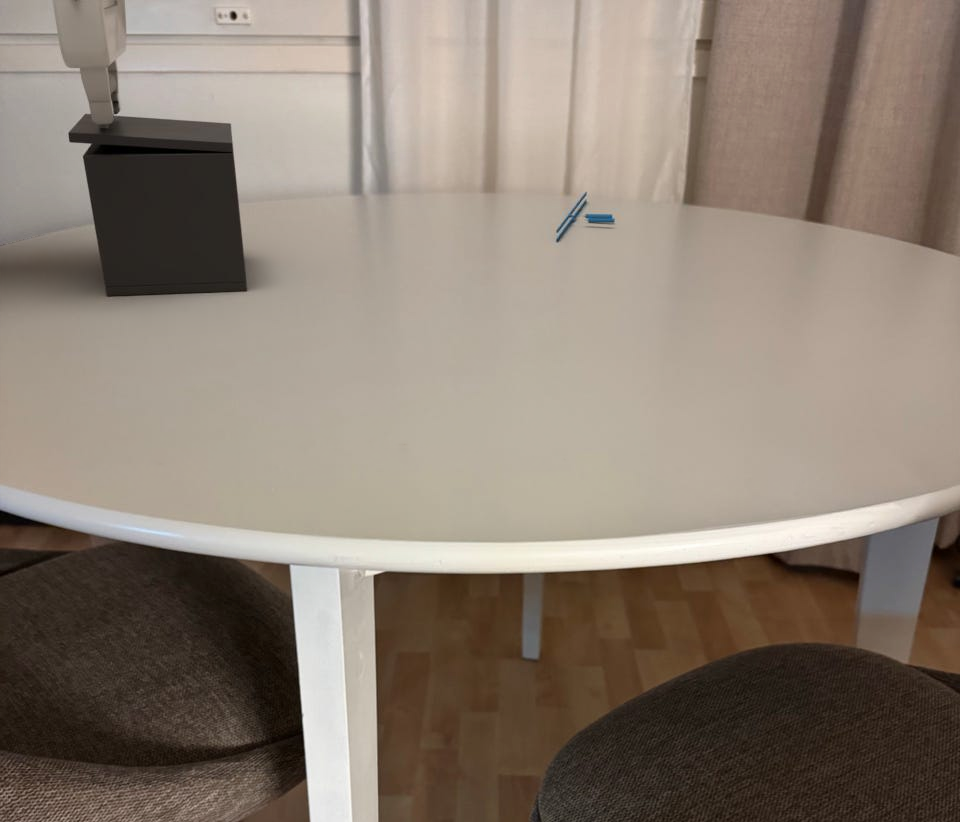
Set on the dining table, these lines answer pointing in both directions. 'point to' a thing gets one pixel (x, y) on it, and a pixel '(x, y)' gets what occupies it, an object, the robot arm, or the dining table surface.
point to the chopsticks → (592, 217)
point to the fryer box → (166, 219)
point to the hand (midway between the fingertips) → (107, 118)
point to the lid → (153, 132)
